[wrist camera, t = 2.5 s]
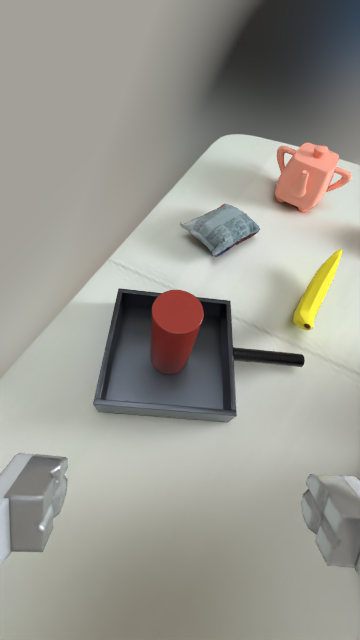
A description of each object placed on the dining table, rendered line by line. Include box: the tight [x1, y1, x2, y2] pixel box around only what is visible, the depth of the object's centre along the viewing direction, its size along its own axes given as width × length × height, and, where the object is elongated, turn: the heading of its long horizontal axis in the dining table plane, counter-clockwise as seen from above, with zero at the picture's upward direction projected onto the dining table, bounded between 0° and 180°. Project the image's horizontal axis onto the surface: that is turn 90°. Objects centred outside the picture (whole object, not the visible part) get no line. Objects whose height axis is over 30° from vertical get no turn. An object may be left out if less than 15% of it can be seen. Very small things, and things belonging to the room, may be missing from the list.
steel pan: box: [93, 289, 304, 422], centre depth 34 cm, size 24×15×4 cm, turn 87°
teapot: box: [275, 143, 352, 212], centre depth 53 cm, size 14×12×10 cm
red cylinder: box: [150, 290, 204, 374], centre depth 30 cm, size 5×5×11 cm
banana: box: [293, 249, 342, 330], centre depth 40 cm, size 3×19×6 cm, turn 146°
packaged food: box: [180, 204, 260, 257], centre depth 46 cm, size 9×12×5 cm
